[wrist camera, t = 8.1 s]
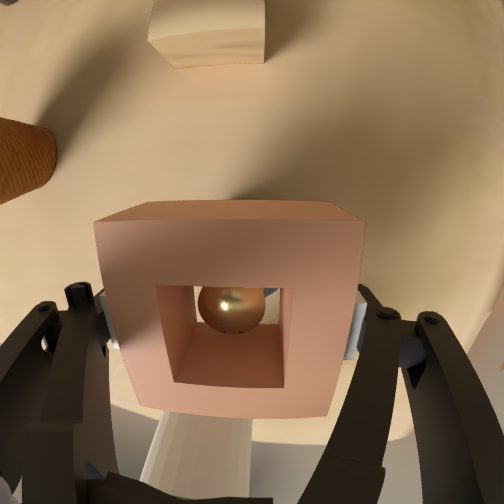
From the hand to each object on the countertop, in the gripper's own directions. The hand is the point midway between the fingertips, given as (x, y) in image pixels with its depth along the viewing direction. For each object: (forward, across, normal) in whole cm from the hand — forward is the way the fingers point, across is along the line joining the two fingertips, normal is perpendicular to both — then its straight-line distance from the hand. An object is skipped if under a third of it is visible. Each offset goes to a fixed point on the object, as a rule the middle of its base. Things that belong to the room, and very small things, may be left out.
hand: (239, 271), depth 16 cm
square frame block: (-2, 0, 0) cm, 2 cm away
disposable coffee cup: (+6, -21, +9) cm, 24 cm away
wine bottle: (+6, -3, -14) cm, 15 cm away
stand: (+5, -2, +18) cm, 19 cm away
